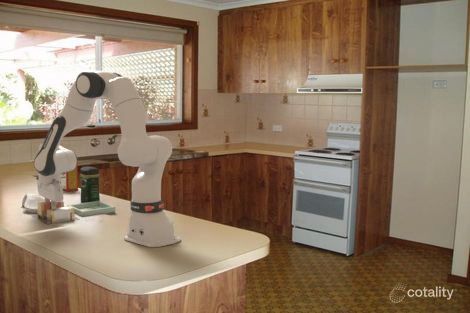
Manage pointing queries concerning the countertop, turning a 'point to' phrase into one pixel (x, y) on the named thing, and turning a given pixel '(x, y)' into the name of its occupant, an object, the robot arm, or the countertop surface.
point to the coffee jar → (89, 184)
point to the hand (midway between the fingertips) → (51, 208)
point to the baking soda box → (70, 180)
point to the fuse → (48, 206)
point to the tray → (96, 205)
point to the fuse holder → (57, 215)
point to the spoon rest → (31, 202)
